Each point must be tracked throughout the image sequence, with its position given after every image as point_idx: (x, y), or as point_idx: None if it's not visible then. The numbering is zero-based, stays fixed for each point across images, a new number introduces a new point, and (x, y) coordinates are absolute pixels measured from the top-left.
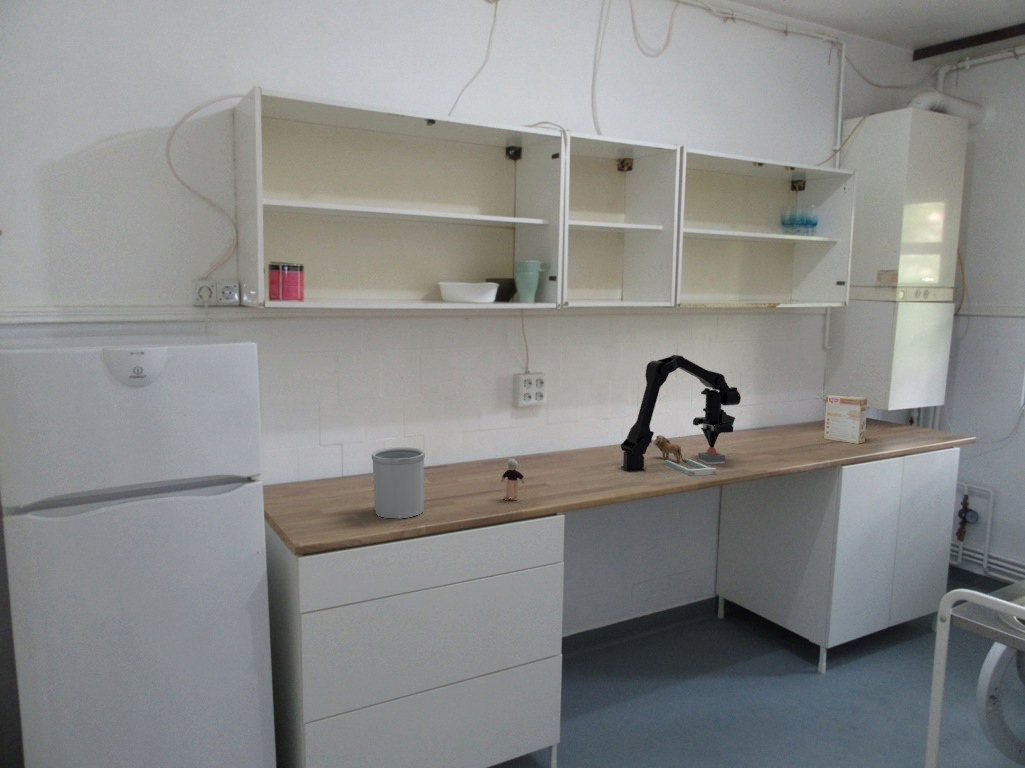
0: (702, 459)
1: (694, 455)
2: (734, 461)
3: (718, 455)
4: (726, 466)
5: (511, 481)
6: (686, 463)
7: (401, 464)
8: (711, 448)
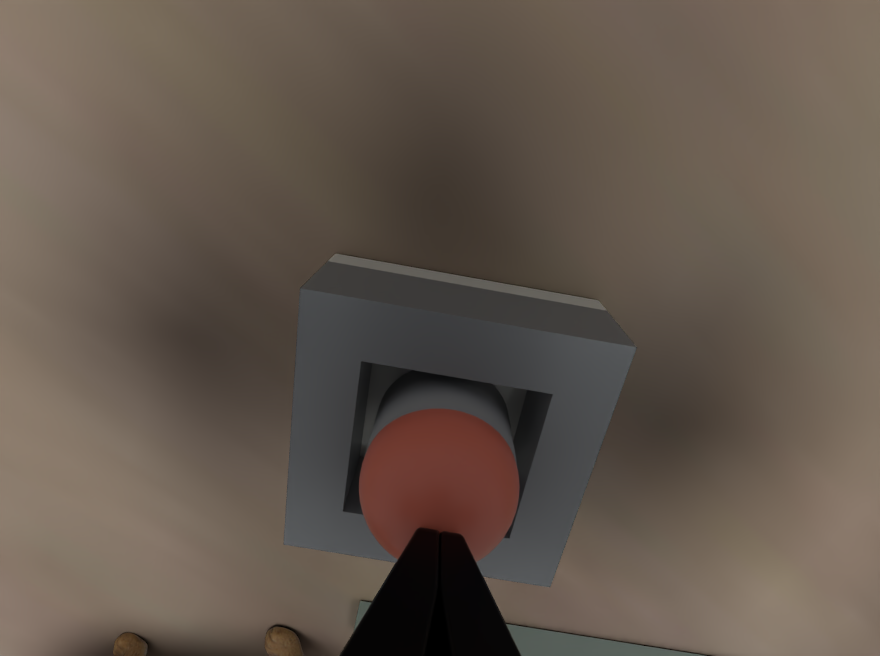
0: None
1: (34, 325)
2: (587, 54)
3: (577, 440)
4: (730, 398)
5: None
6: None
7: None
8: None
